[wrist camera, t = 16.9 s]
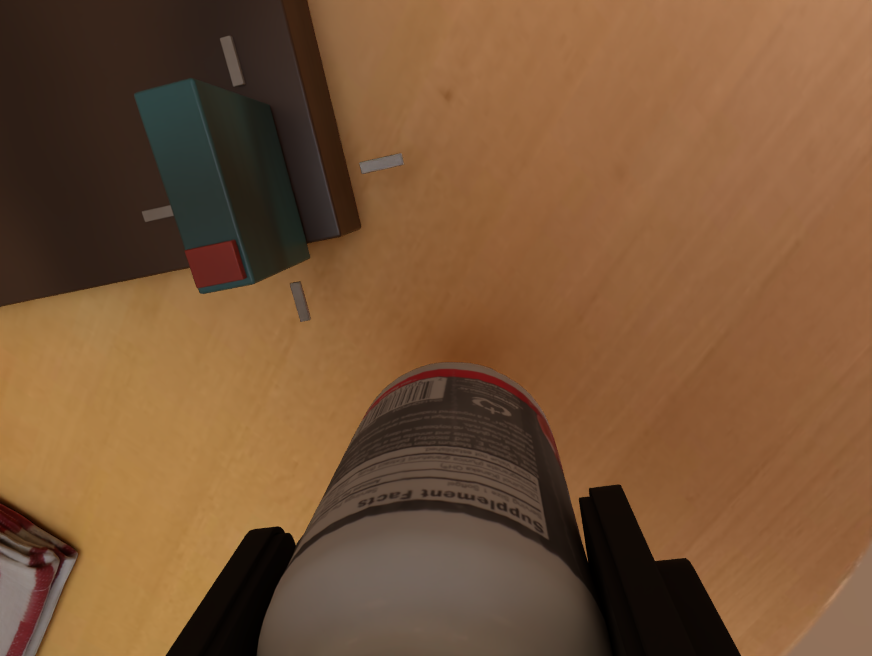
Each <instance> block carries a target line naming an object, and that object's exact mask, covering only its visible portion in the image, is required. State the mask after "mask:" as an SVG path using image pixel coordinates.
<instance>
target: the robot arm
mask: <svg viewBox="0 0 872 656" xmlns="http://www.w3.org/2000/svg"><path fill="white" fill-rule="evenodd" d="M589 496H590V497H582V498H579V504H580V511H581V517H582V524H583V530H584V537H585V544H586V550H587V557H588V564H589V568H590V571H591V574H592V578H593V581H594V584H595V587H596V590H597V594H598V597H599V600H600V604H601V607H602V610H603V613H604V616H605V619H606V622H607V626H608V631H609V637H610V642H611V647H612V653H613V656H741V655H740V653H739V651H738V649H737V647H736V645H735V644H734V642H733V640H732V638H731V636H730V634H729V632H728V630H727V629H726V627H725V625H724V623H723V621H722V619H721V617H720V616H719V614H718V612H717V610H716V608H715V606H714V604H713V603H712V601H711V599H710V597H709V595H708V593H707V591H706V590H705V588H704V586H703V584H702V582H701V580H700V578H699V577H698V575H697V573H696V571H695V569H694V567H693V566H692V564H691V563H690V561H689V560H688V559H686V558H681V559H671V560H661V561H654V558H653V556H652V554H651V552H650V549H649V547H648V545H647V543H646V540H645V538H644V536H643V534H642V531H641V529H640V527H639V525H638V522H637V520H636V518H635V516H634V513H633V511H632V509H631V507H630V504H629V502H628V500H627V498H626V495H625V493H624V491H623V489H622V487H621V485H611V486H603V487H594V488H589ZM295 547H296V545H295V542H294V539H293V537H292V535H291V534H290V533H285V532H284V530H283V529H282V528H281V527H278V526H277V527H269V528H261V529H253V530H250V531H249V532H248V533H247V534H246V536H245V537H244V539H243V540H242V542H241V543H240V545H239V546H238V548H237V549H236V551H235V552H234V554H233V555H232V557H231V558H230V560H229V561H228V563H227V564H226V566H225V567H224V569H223V570H222V572H221V573H220V575H219V576H218V578H217V579H216V581H215V582H214V584H213V585H212V587H211V588H210V590H209V591H208V593H207V594H206V596H205V597H204V599H203V600H202V602H201V603H200V605H199V606H198V608H197V609H196V611H195V612H194V614H193V615H192V617H191V618H190V620H189V621H188V623H187V624H186V626H185V627H184V629H183V630H182V632H181V633H180V635H179V636H178V638H177V639H176V641H175V642H174V644H173V645H172V647H171V648H170V650H169V651H168V653H167V654H166V656H257V649H258V642H259V636H260V632H261V628H262V624H263V621H264V618H265V615H266V612H267V609H268V607H269V605H270V602H271V600H272V597H273V594H274V592H275V589H276V587H277V585H278V583H279V581H280V579H281V577H282V575H283V574H284V572H285V570H286V568H287V566H288V564H289V563H290V561H291V559H292V556H293V553H294V550H295Z"/></svg>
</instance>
